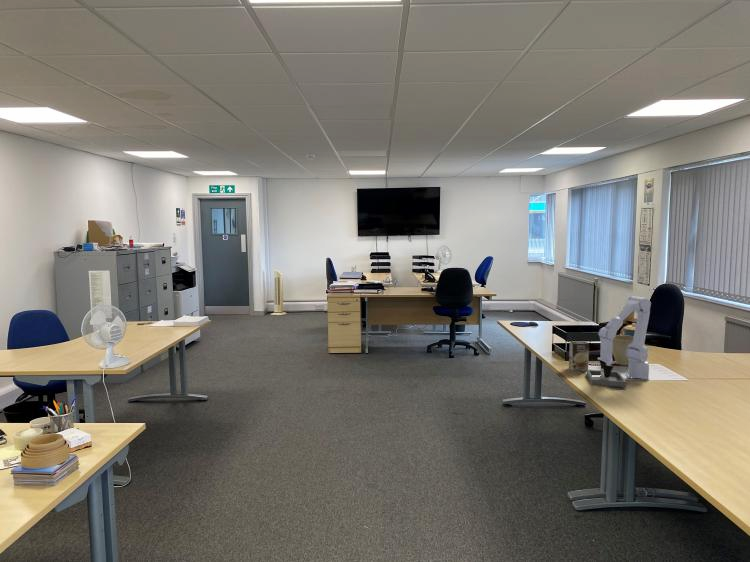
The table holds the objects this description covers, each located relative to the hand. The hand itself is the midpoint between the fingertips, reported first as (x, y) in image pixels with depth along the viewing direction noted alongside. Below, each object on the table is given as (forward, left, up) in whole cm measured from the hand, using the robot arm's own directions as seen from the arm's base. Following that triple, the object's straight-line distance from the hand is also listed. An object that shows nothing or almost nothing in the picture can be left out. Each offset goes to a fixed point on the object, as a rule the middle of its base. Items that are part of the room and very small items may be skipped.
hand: (605, 375), depth 252 cm
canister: (-30, -77, -3) cm, 83 cm away
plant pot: (-16, -37, -3) cm, 40 cm away
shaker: (0, 0, -3) cm, 3 cm away
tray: (0, 0, -3) cm, 3 cm away
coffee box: (+11, -19, -3) cm, 22 cm away
